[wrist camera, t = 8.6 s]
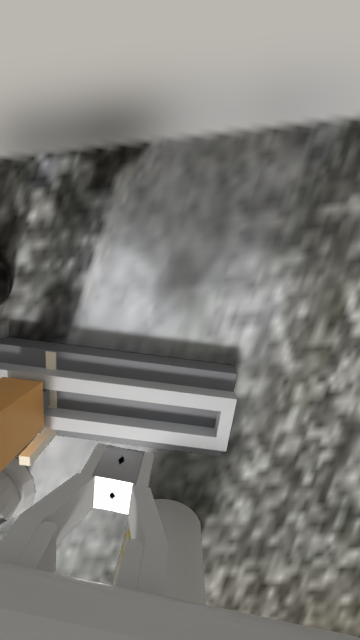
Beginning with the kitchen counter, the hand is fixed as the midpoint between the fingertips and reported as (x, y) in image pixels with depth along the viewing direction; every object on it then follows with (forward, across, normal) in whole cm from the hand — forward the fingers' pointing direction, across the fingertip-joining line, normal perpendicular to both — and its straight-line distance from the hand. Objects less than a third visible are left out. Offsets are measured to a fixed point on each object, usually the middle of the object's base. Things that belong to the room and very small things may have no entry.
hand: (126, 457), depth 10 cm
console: (+7, +3, +2) cm, 8 cm away
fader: (+5, +9, +2) cm, 11 cm away
